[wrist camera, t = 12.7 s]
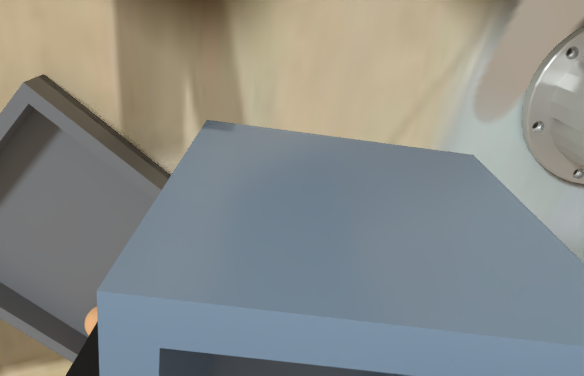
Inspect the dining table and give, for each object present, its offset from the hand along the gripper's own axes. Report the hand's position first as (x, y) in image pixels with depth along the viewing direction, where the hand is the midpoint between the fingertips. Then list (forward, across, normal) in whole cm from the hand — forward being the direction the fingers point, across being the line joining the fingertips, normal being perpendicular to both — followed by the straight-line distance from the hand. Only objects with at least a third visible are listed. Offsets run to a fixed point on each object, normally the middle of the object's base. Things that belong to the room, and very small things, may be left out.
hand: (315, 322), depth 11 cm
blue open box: (+1, 0, 0) cm, 1 cm away
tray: (+26, +16, +14) cm, 34 cm away
